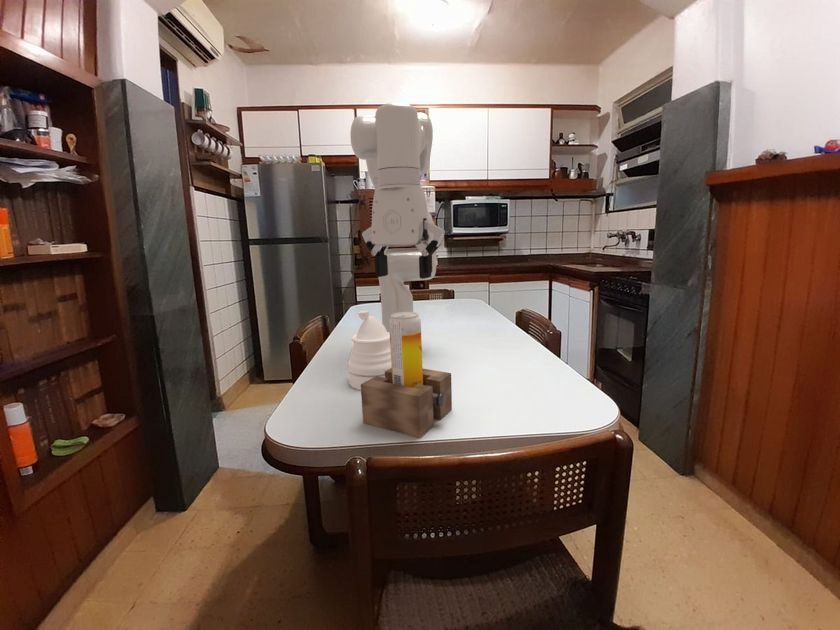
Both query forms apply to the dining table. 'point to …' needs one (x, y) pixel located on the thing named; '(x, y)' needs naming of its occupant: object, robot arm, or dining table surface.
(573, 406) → the dining table surface
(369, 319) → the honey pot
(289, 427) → the dining table surface
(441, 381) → the brown wooden clamp block
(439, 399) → the plunger
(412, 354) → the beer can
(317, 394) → the dining table surface
